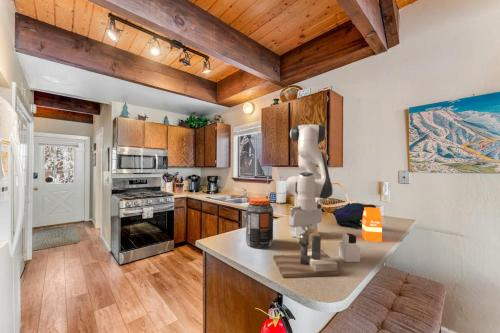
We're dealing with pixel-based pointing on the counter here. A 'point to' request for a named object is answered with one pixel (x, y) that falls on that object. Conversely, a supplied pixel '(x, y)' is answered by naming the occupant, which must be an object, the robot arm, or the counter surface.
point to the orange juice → (372, 224)
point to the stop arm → (307, 237)
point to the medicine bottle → (349, 249)
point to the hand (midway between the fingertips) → (305, 233)
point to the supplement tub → (259, 223)
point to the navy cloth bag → (351, 214)
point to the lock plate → (307, 262)
